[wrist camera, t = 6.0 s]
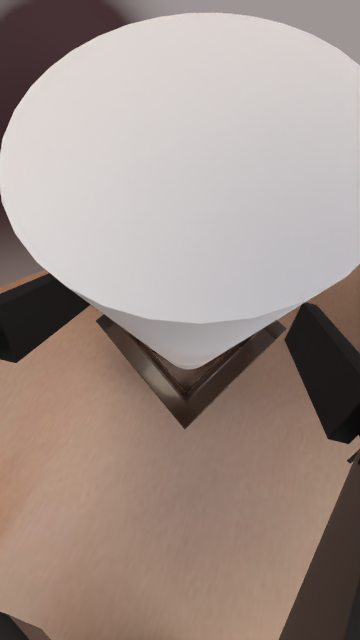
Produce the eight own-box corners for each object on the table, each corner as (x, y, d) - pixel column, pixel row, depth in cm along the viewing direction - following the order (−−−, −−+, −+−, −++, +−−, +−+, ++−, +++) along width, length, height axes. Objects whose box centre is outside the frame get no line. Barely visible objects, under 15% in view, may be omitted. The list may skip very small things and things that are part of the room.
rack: (251, 344, 28) (286, 328, 18) (185, 409, 26) (184, 429, 16) (190, 284, 30) (192, 241, 20) (126, 339, 28) (95, 320, 19)
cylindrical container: (180, 306, 29) (148, -19, 5) (225, 334, 28) (461, 78, 4) (151, 350, 28) (-87, 185, 4) (197, 380, 27) (292, 435, 2)
